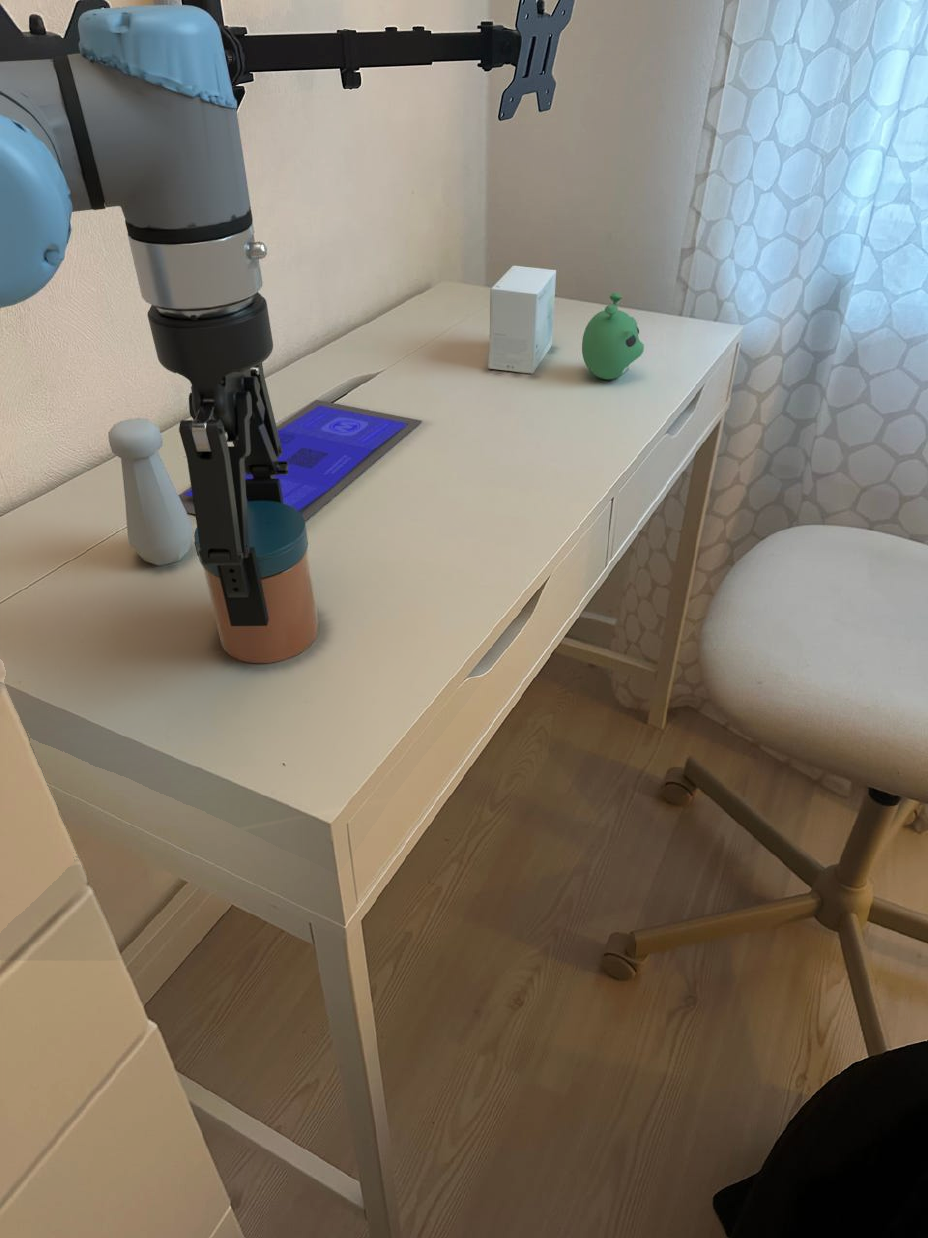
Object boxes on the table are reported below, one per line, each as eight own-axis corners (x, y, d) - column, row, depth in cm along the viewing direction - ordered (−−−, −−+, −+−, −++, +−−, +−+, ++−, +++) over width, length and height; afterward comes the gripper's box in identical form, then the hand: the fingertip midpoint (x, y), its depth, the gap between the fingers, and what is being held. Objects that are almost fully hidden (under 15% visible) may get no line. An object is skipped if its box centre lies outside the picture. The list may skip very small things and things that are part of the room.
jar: (222, 671, 70) (198, 570, 64) (219, 612, 76) (196, 514, 70) (324, 654, 71) (309, 553, 66) (313, 597, 78) (298, 500, 72)
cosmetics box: (535, 375, 115) (538, 292, 109) (487, 369, 117) (487, 288, 110) (554, 346, 123) (557, 267, 117) (509, 341, 125) (510, 263, 118)
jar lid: (199, 587, 65) (193, 566, 64) (197, 529, 71) (192, 508, 70) (314, 570, 66) (310, 548, 65) (302, 514, 73) (299, 494, 72)
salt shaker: (209, 541, 85) (180, 413, 77) (178, 574, 81) (144, 443, 73) (154, 533, 86) (120, 407, 78) (121, 565, 82) (81, 435, 74)
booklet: (408, 423, 104) (408, 417, 104) (285, 526, 86) (284, 520, 86) (319, 405, 108) (318, 400, 108) (184, 500, 91) (183, 494, 90)
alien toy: (637, 391, 111) (645, 310, 105) (575, 385, 112) (580, 305, 106) (643, 369, 116) (651, 291, 110) (584, 364, 118) (589, 287, 112)
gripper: (225, 363, 48) (286, 675, 62) (292, 248, 66) (328, 511, 79) (88, 366, 48) (179, 676, 62) (191, 250, 66) (244, 513, 80)
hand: (262, 584), depth 71 cm, fingers open, 9 cm apart
